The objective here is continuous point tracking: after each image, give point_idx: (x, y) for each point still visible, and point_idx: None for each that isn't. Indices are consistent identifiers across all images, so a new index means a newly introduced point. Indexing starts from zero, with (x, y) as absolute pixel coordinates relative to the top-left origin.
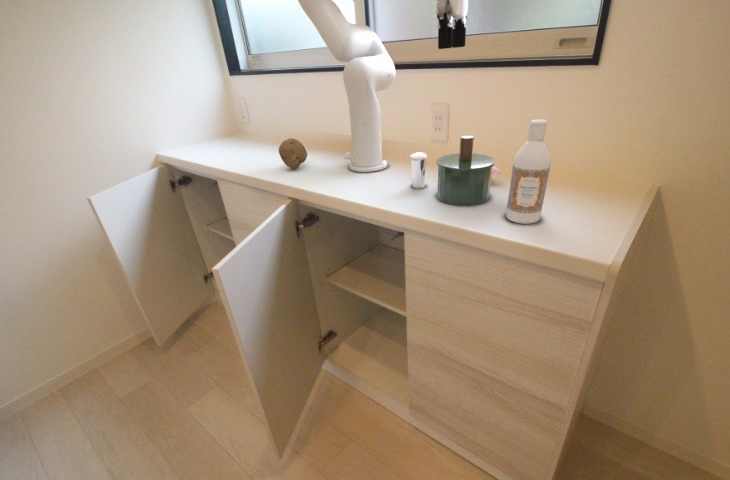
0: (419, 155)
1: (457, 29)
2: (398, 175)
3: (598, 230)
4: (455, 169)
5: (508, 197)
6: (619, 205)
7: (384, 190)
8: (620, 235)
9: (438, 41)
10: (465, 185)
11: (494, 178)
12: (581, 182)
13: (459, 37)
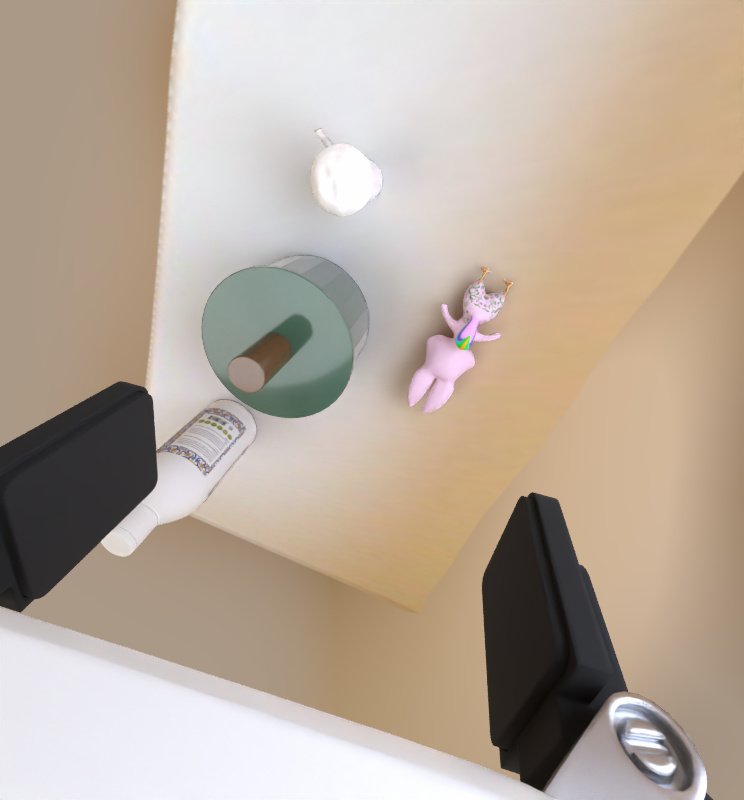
0: (318, 189)
1: (526, 692)
2: (480, 58)
3: (225, 505)
4: (203, 326)
5: (203, 416)
6: (326, 553)
7: (307, 60)
8: (219, 521)
9: (77, 407)
10: None
11: (456, 391)
12: (437, 540)
13: (505, 618)
